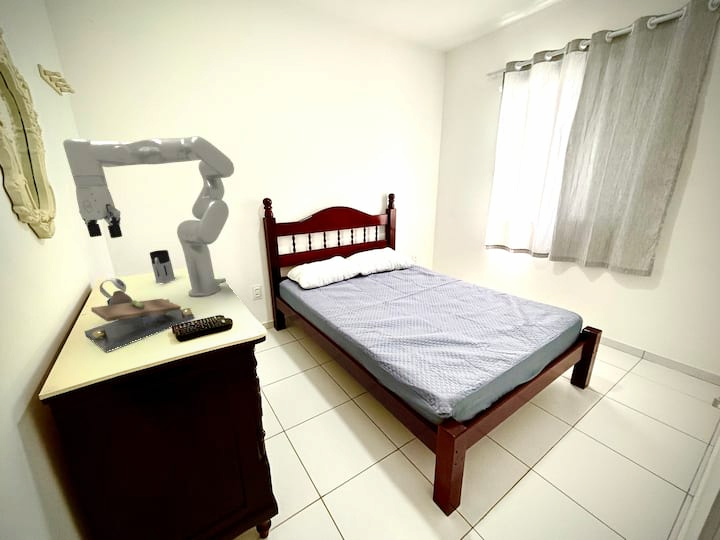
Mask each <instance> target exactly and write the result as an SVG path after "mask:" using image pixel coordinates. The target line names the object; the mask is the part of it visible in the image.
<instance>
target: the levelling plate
mask: <svg viewBox="0 0 720 540" xmlns="http://www.w3.org/2000/svg"><path fill="white" fill-rule="evenodd" d="M181 307H182V306H181V305H178V304H176V303H174V302H172V301H170V300H169V301H167V300H166V299H165V298H156V299H149V300H148V299H147V300H139V301H138V300H136V299H135V300H133V301H132V302H131V303H123V304H115V305H108V304H107V305H103V306H94V307H93V306H92V307H91V309H90V311H91V312H92V313H93V314H95V315H96V316H98V317H100V318H101V319H102V320H104V321H105V322H107V323H110V322H114V321H117V320H121V319H127V318H133V317H139V316H146V315H151V314H157V313H163V312H169V311H175V310H181V309H182V308H181Z"/></svg>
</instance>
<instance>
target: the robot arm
mask: <svg viewBox="0 0 720 540" xmlns="http://www.w3.org/2000/svg"><path fill="white" fill-rule="evenodd" d="M62 143H63V145H62V146H63V149H64V151H65V155H66V159H67V161H68V165H69V169H70V172H71V176H72V180H73V183H74V185H75V186H74V187H75V194H76V201H77V205H78V209H79V214H80V216H81V218H82V220H83V221H84V224H85V225H86V228H87V231H88V235H89V237H90V238H95V237H101V236H102V234H103V233H102V230H101V227H100V224H99V223H98V221H101V220H104V221H105V222H106V223H107V230H108V232H109V236H110V237H109V238H111V239H116V238H122V237H123V232H122V229H121V226H120V225H121V211H120V210H119V209H117V208H116V207H115V203H114V200H113V197H112V194H111V192H110V189H109V188H108V187H109V186H108V182H107V178H106V175H105V171H104V168H114V167H126V166H136V165H138V166H139V165H163V164H165V165H166V164H172V163H184V162H194V161H199V163H198V171H199V173H200V175H201V178H202V182H203V186H202V188H201V190H200V193H199V194H198V197H197V198H196V200H195V201H194V204H193V205H192V207H191V213H192V215H193V216H194V218H195V219H188V220H184V221H182V222H180V223H179V224H178V226H177V229H176V234H177V238H178V240H179V242H180V245H181V248H182V251H183V255H184V259H185V264H186V269H187V273H188V277H189V278H188V279H189V282H190V287H191V288H190V290H189V291H188V296H190V297H193V298H198V297H199V298H201V297H207V296H211V295H213V294H214V295H215V294H217V293H218V292H220V291H221V286H220V284H223V283H226V282H227V280H226V278H225V277H223V278H215V272H214V269H213V268H214V267H213V262H212V257H211V252H210V249H209V246H208V245H212V244H214V243H215V242H216V241H217V239H218V238H219V236H220V235H221V233H222V230H223V228H224V226H225V224H226V222H227V220H228V218H229V214H230V213H229V212H230V209H229V206H228V205H227V203H226V202H225V200H223V198H224V195H225V186H224V183H223V181H222V179H224V178H229V177H232V175H234V172H235V166H234V163H233V161H232V160H231V159H230V157H228V156H227V155H226V154H225V153H224V152H222V151H221V150H220V149H218V148H217V146H215V145H214V144H212V143H211V142H209V140H207V139H205V138H203V137H201V136H197V135H195V136H188V137H174V138H148V139H142V140H138V141H131V142H120V141H115V140H105V141H104V140H102V141H101V140H91V139H90V140H89V139H80V138H67V139H64V140H63V142H62ZM196 219H197V220H196Z"/></svg>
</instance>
